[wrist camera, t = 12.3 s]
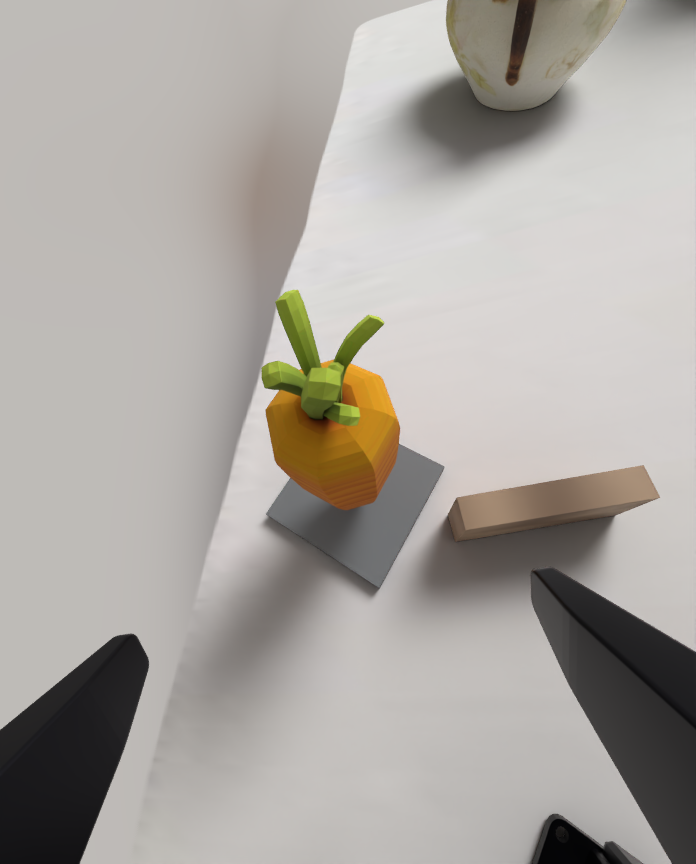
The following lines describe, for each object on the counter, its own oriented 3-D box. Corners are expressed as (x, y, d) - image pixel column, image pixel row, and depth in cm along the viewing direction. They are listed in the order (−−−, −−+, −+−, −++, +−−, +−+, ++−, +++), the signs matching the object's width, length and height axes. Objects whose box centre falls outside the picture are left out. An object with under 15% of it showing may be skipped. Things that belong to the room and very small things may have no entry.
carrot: (324, 451, 24) (230, 260, 10) (401, 457, 23) (409, 260, 10) (311, 529, 22) (176, 418, 9) (395, 539, 21) (393, 434, 8)
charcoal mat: (379, 588, 21) (378, 588, 20) (269, 516, 23) (265, 514, 23) (443, 469, 23) (444, 466, 23) (336, 415, 26) (335, 411, 25)
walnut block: (603, 488, 22) (643, 465, 18) (615, 515, 21) (659, 497, 17) (447, 514, 22) (456, 497, 18) (455, 542, 21) (465, 530, 18)
